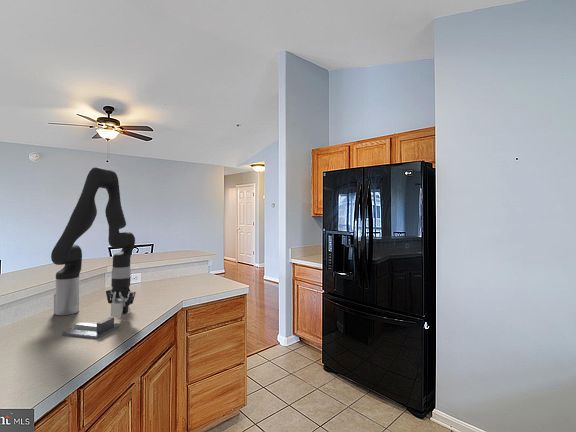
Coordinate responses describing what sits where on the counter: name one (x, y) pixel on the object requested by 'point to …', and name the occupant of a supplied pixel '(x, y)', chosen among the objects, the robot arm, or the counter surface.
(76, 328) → the rail plate
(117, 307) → the block
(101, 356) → the counter surface
